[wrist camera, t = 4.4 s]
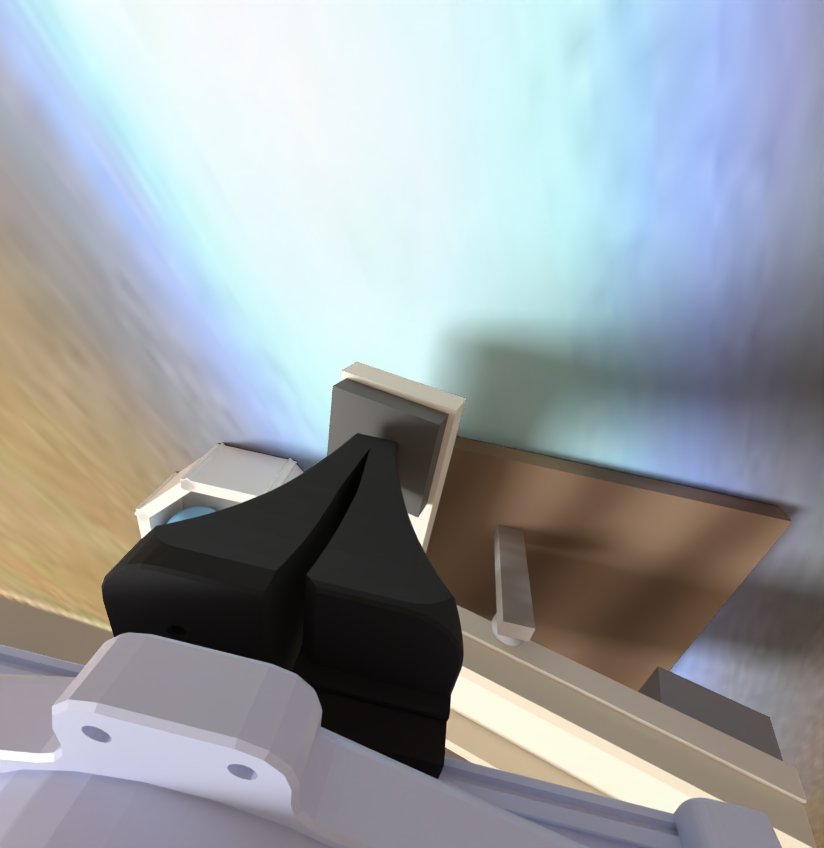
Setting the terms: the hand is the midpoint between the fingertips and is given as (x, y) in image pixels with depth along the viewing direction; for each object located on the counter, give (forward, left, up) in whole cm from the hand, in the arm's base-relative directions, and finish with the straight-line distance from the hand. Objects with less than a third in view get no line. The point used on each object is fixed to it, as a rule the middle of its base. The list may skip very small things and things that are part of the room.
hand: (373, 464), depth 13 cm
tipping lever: (-8, +6, -2) cm, 10 cm away
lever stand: (-8, +9, -6) cm, 14 cm away
